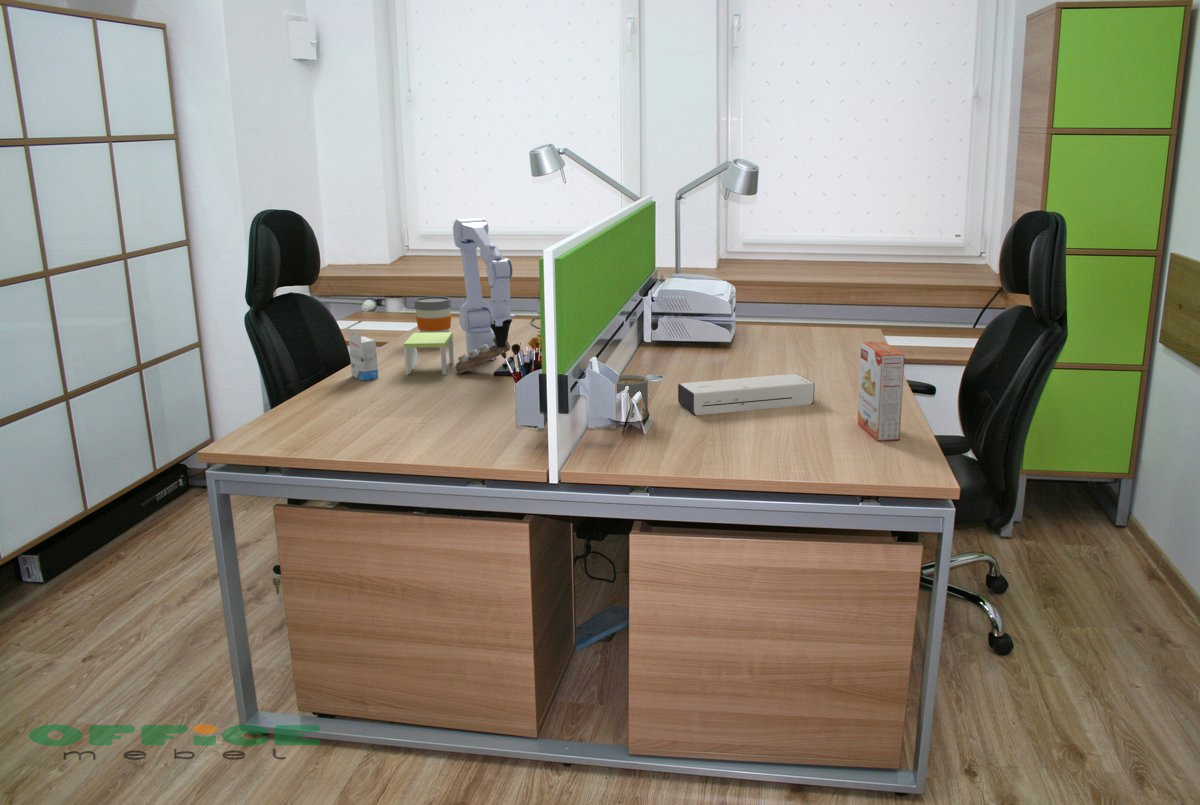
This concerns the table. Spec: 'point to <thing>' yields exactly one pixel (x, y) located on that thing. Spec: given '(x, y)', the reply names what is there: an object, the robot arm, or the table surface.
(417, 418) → the table surface
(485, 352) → the wooden slotted rack
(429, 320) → the reusable coffee cup
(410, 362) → the green top stool
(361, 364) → the ink box
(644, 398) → the coffee mug
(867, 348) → the cracker box
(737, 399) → the laminator
